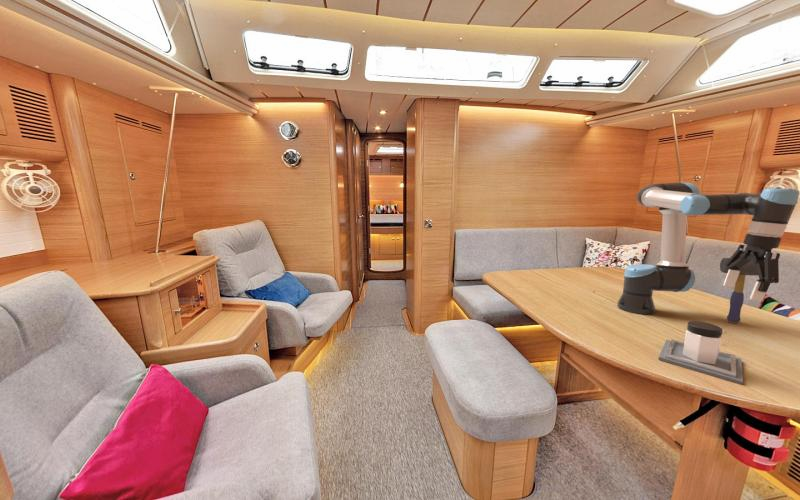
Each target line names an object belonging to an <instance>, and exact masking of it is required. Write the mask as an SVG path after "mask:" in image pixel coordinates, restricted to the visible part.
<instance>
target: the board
mask: <svg viewBox="0 0 800 500" xmlns="http://www.w3.org/2000/svg"><path fill="white" fill-rule="evenodd" d="M670 342H671V340H669V339H666V340H665V341H664V345H663V346H662V349H661V352H660V353H659V355H658V360H659V361H662V362H666V363H669V364H670V365H671V364H672V365H675V366H679V367H682V368H686V369H688V370H692V371H695V372H699V373H701V374H702V373H703V374H706V375H708V376H712V377H715V378H719V379H722V380H725V381H730V382H732V383H735V384H738V385H743V384H744V377H743V375H744V374H743V363H742V358H740V357H737V356H735V360H736V377H732V376H729V375H725V374H722V373H718V372H715V371H711V370H708V369H704V368H701V367H697V366H694V365H690V364H687V363H684V362H680V361H677V360H673V359H670V358H666V357H665V355H666V352H667V349H668V347H669V345H670ZM683 349H684V346H680V345H676V344H674V346H673V349H672V352H671V355H675V356H678V357H682V358H685V359H689V360H693V359H690V358H688V357H686V356H684V355H683ZM693 361H695V360H693ZM696 362H697V361H696ZM700 363H702V362H700ZM703 364H707V365H710V366H714V367H718V368H721V369H725V370H728V371H730V358H727V357H723V356H719V355H718V360H717V362H716V364H708V363H703Z"/></svg>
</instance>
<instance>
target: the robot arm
mask: <svg viewBox="0 0 800 500" xmlns="http://www.w3.org/2000/svg"><path fill="white" fill-rule="evenodd" d="M799 196H800V191H799V190H798V189H797V188H796V189H794V188H775V187H771V188H770V187H769V188H768V187H767V188H764V189H762V191H761V193H749V192H738V193H736V192H735V193H724V194H723V193H720V194H702V193H701V192H700V189H699V188H698V186H696V184H694V183H691V182H669V183H668V182H667V183H665V182H663V183H652V184H647V185H645V186H643V187H642V188H641V189H639V191H638V192H637V194H636V201H637V203H638V204H640V205H641V206H643V207H648V208H658V212H659V213H661V214H662V222H661V224H662V225H661V239H660V240H661V242H660V243H661V245H660V261H659V262H658V263H656V264H655V265H653V264H643V263H640V264H636V263H635V264H630V265H628V266H627V267H625V269H624V273H623V274H624V278H623V288H622V293H621V295H620V297H619V299H618V301H617V306H618V307H619V308H618V307H617V308H618V309H621V310H622V309H623V310H622V311H625V312H629V313H633V314H638V315H639V314H641V315H653V314H655V313H656V306H655V302H654V300H653V292H656V291H657V292H674V293H678V292H679V293H683V292H688V291H689V290H691V289H692V288H693V287H694V285H695V282H696V275H695V273H694V271H693V270H692V269H689V267H690V266H689V264H687V263H686V262H685V260H686V259H685V258H686V239H687V237H686V236H687V222H688V216H703V215H704V216H705V215H706V216H711V215H712V216H713V215H717V216H718V215H720V216H722V215H723V216H724V215H725V216H726V215H747V216H752V219H751V220H750V223H749V226H748V229H747V234H745V237H744V239H743V244H739V245H738V247H737V249H736V251H735V252H733V254H732V255H731V256H730V257H729V258H730V259H729V260H728V261H727V262H726V264H725V266H728V269H729V270H728V273H726V277H725V279H724V282H723V285H722V286H724V287H728V288H729V287H730V288H735V283H736V280H737V278H738V275H739V273H740V271H738V270H739V269H740V268H741V267H743V266H744V265H745V264H747V263H748V262H749V261H753V262H754V263H755V264H756V267H757V271H758V275H759V276H758V279H757V280H756V282H755V283H754V287H753V289H752V292H751V294H750V296H749V299H750V300H751V301H759V302H763V301H764V299H765V296H766V293H767V292H768V290H769V287H770V285H771V284H779V281H780V277H779V275H780V274H779V271H780V270H779V259H780V256H781V254H780V253H779V252H774V251H773V249H778V248H779V246H780V244H781V241H782V236H783V235H784V233H785V231H786V229H787V226H788V224H789V222H790V219H791V217H792V215H793V213H794V210H795V207H796V205H797V204H798V199H799ZM772 251H773V252H772ZM731 263H732V264H731ZM740 270H741V269H740Z"/></svg>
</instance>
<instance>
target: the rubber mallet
mask: <svg viewBox="0 0 800 500" xmlns="http://www.w3.org/2000/svg"><path fill="white" fill-rule="evenodd" d="M730 258H731V257H723V258H721V260H720V263H719V270H720V272H722V273H723V274H727V273H728V270H729V269H728V266H725V264H726V262H727V261H728V260H729V259H730ZM731 264H732V263H731ZM740 269H741V270H740ZM740 269H739V270H738V271H740V273H739V275H738V278H737V280H736V283H735V286H734V287H733V288H734V289H733V292H732V293H731V295H730V296H731V297H730V299H729V311H728V313H727V314H728V315H727V316H726V320H727V321H728V322H729V323H732V324H739V323H740V322H741V312H742V307H743V305H744V298H745V296H744V286H745V282H746V276H758V277H759V275H758V271H757V267H756V264H755V263H754V262H753V261H749V262H748V263H747V264H745V265H744V266H743V267H741V268H740Z"/></svg>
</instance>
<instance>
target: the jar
mask: <svg viewBox="0 0 800 500" xmlns="http://www.w3.org/2000/svg"><path fill="white" fill-rule="evenodd" d="M686 326H687V327H686V328H687V329H686V330H685V336H684V349H683V355H684V356H686V357H688V358H690V359H693V360H695V361H697V362H702V363H708V364H716V362H717V360H718V354H719V351H720V349H721V341H722V335H723V328H722V327H720V326H718V325H715V324H714V323H713V324H712V323H710V322H706V321H705V322H704V321H700V320H699V321H698V320H692V321H687V325H686Z"/></svg>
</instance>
